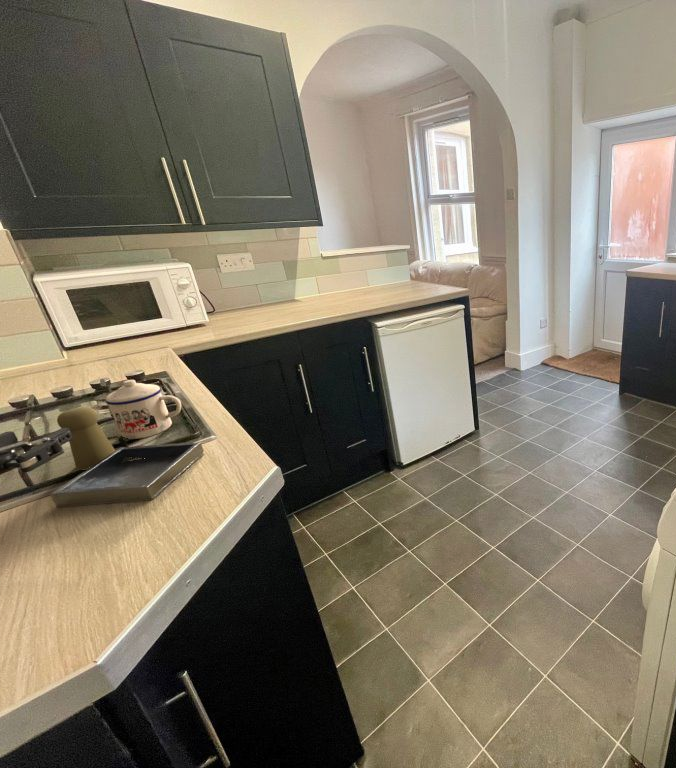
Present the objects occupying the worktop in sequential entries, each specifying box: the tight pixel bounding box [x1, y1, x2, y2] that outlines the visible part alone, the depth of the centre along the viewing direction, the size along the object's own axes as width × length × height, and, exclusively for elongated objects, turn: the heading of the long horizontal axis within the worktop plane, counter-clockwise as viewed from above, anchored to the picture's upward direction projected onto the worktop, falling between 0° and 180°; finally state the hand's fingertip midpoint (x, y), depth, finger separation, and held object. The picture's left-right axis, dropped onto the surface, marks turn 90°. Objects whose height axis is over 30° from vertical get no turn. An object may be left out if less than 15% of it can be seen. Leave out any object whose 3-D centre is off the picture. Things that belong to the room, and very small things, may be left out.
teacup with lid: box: [105, 379, 182, 440], centre depth 90 cm, size 12×9×12 cm
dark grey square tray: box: [49, 441, 205, 508], centre depth 74 cm, size 15×15×3 cm
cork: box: [56, 406, 116, 471], centre depth 78 cm, size 6×6×11 cm
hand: (41, 434), depth 70 cm, fingers open, 8 cm apart
